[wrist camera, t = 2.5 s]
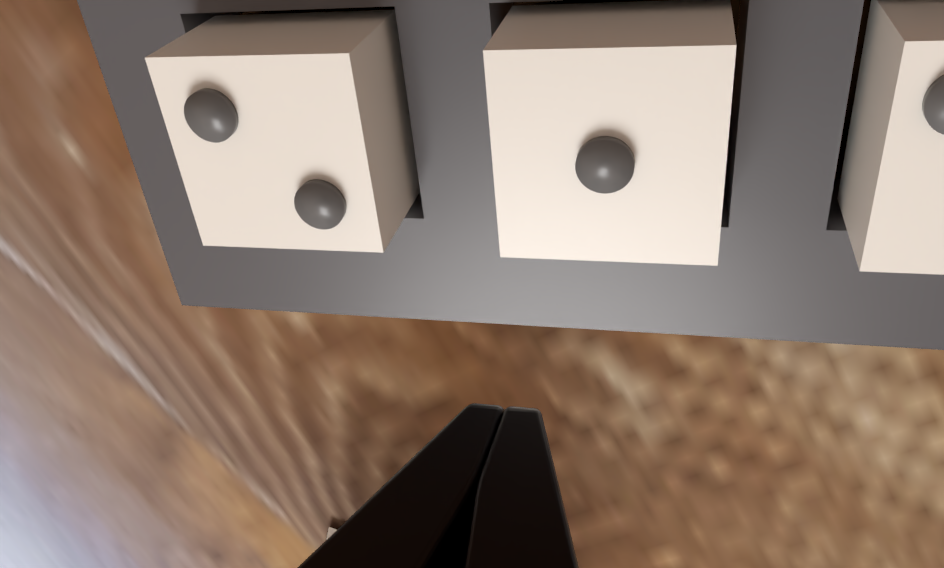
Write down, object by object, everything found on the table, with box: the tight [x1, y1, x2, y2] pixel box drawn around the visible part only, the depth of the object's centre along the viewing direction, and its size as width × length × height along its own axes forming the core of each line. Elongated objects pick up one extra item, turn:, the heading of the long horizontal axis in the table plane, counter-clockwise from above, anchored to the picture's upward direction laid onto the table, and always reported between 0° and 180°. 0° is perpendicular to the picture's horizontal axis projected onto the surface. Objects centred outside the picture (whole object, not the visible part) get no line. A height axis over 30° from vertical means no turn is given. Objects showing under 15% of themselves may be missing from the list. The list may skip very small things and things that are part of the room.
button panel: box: [77, 0, 944, 350], centre depth 18 cm, size 24×11×2 cm, turn 95°
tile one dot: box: [483, 0, 736, 266], centre depth 17 cm, size 4×4×3 cm
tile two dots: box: [145, 10, 420, 253], centre depth 18 cm, size 4×4×3 cm
